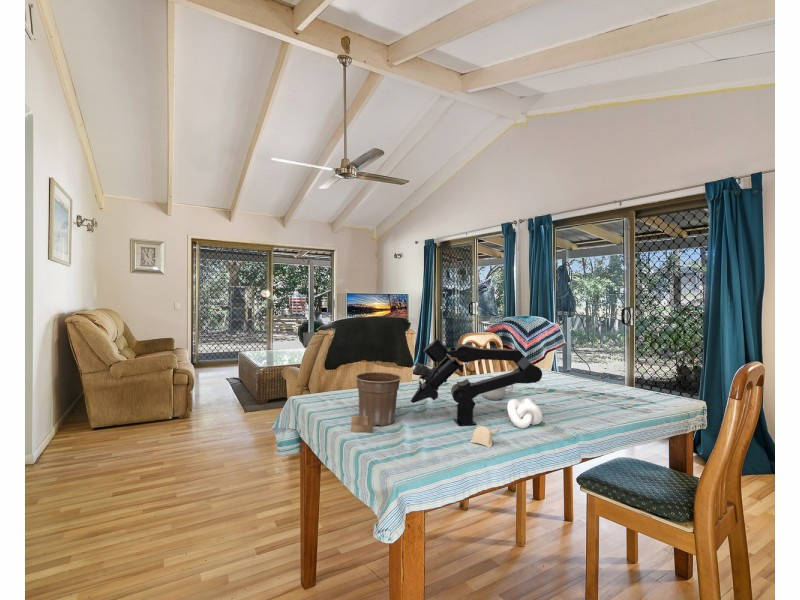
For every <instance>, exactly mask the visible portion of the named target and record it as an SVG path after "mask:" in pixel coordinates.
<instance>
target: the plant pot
mask: <svg viewBox="0 0 800 600" xmlns="http://www.w3.org/2000/svg"><path fill="white" fill-rule="evenodd" d="M355 379H356V385H357V390H358V410H359V409H360V412H359V416H368V413H373V427H375V426H380V427H384V426H389V424H390V425H391V424H393V423H394V422H395V414H396V406H397V398H398V397H397V396H398V391H399V389H400V381H401V379H402V376H400V375H399V374H396V373H391V372H382V371H381V372H380V371H379V372H378V371H377V372H376V371H375V372H374V371H371V372H362V373H358V374H356V375H355Z"/></svg>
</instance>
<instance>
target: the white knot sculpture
mask: <svg viewBox="0 0 800 600" xmlns="http://www.w3.org/2000/svg"><path fill="white" fill-rule="evenodd" d="M506 408H507V409H506V410H507V413H508V417H509V419H510V421H511V423H513V425H515V426H516V428H519V429H527V428H528V427H530V426H531V425H530V424H532V426H536V425H539V424H540V423H541V422H542V420H543V413H542V410H541V408H540V407H539V406H538V405H537V404H536V403H534V402H533V400H532V399H531V398H530V397H524V398H521V399H520V400H518V399H516V398H511V399H510V400H508V402H507V405H506Z"/></svg>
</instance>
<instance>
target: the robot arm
mask: <svg viewBox="0 0 800 600" xmlns="http://www.w3.org/2000/svg"><path fill="white" fill-rule="evenodd" d="M423 353H425V354H426V356H427V357H429V359H430V360H431V361H432V362H433V363H439V364H438V365H437V366H434V367H432V368H429V367H428V365H425V364H422V363H420V362H418V361H417V363H416V364H415V366H414V368H413V373H414V374H417V375H419V379H420V380H419V381H418V388H417V390H416V391H415V393H414V395H413V396H412V398H411V399H410V402H411V404H414V403H417V402H420V401H423V400H425V399H429V398H430V399H432V400H433V401H435V400H436V399H437V398H439V392H438V390H439V388H440V387H441V386H442V385H443V384H444V383H445V384H446V383H447V382H448V379H449V378H450V377H451V376H452V375H453V374H454V373H455V372H457V370H458V371H460V373H464V364H463V363H471V362H476V361H480V360H481V361H482V360H487V361H512V362H513V363H515V365H516V366H517V368H515V369H513V370H512V371H510V372H507V373H503V374H499V375H496V376H492V377H490V378H485V379H486V380H483V379H481V380H482V381H481V380H480V381H479V380H478V381H475V382H470V380H469V379H468V378H467V379H464V380H461V381H456V384H453V385H452V386H451V388H450V394H451V396H452V398H453V401H454V402H456V403H457V406H456V418H453V422H455V423H456V424H457V426H463V427H464V426H477V423H476V422H475V421H474V409H475V406H476V402H475V401H474V399H475V398H476V397H477V396H478V395H482V393H486V392H489V391H492V390H496V389H499V388H503V387H506V388H507V387H509V386H510V387H511V385H513V386H514V385H515V384H535V383H538V382H540V381H541V379H542V378H543V371H542V369H541V368H540V367H539V366H537V365H535V364H534V363H532V362H530V360H528V359H527V357H525V355H524V354H522V352H521V351H520V350H519V349H516V348H510V349H509V348H487V347H486V348H484V347H477V346H473V345H468V344H464V343H460V344H458V345H455V347H448V348H447V347H446V346H445V345H444V344H443V343H442V341H440V339H439V338H436V339H435V340H433V341H432V342H431V343H429V344H428V345H427V346H426V347H425V348H424V349H423ZM450 357H451V358H450ZM457 360H458V361H457ZM421 380H422V381H421Z"/></svg>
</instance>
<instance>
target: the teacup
mask: <svg viewBox="0 0 800 600" xmlns="http://www.w3.org/2000/svg"><path fill="white" fill-rule="evenodd" d="M486 379H487V378H485V379H481V380H480V381H482V380H486ZM506 389H507V386H506V387H503V388H499V389H496V390H492V391H489V392H486V393H482V394H481V396H483V397H484V398H485V399H487V400H496V401H498V400H501V399H502V398H503V397H504V396H507V394H509V393H511V392H512V391H513V390H514V384H513V385H510V389H509V390H506Z"/></svg>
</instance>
